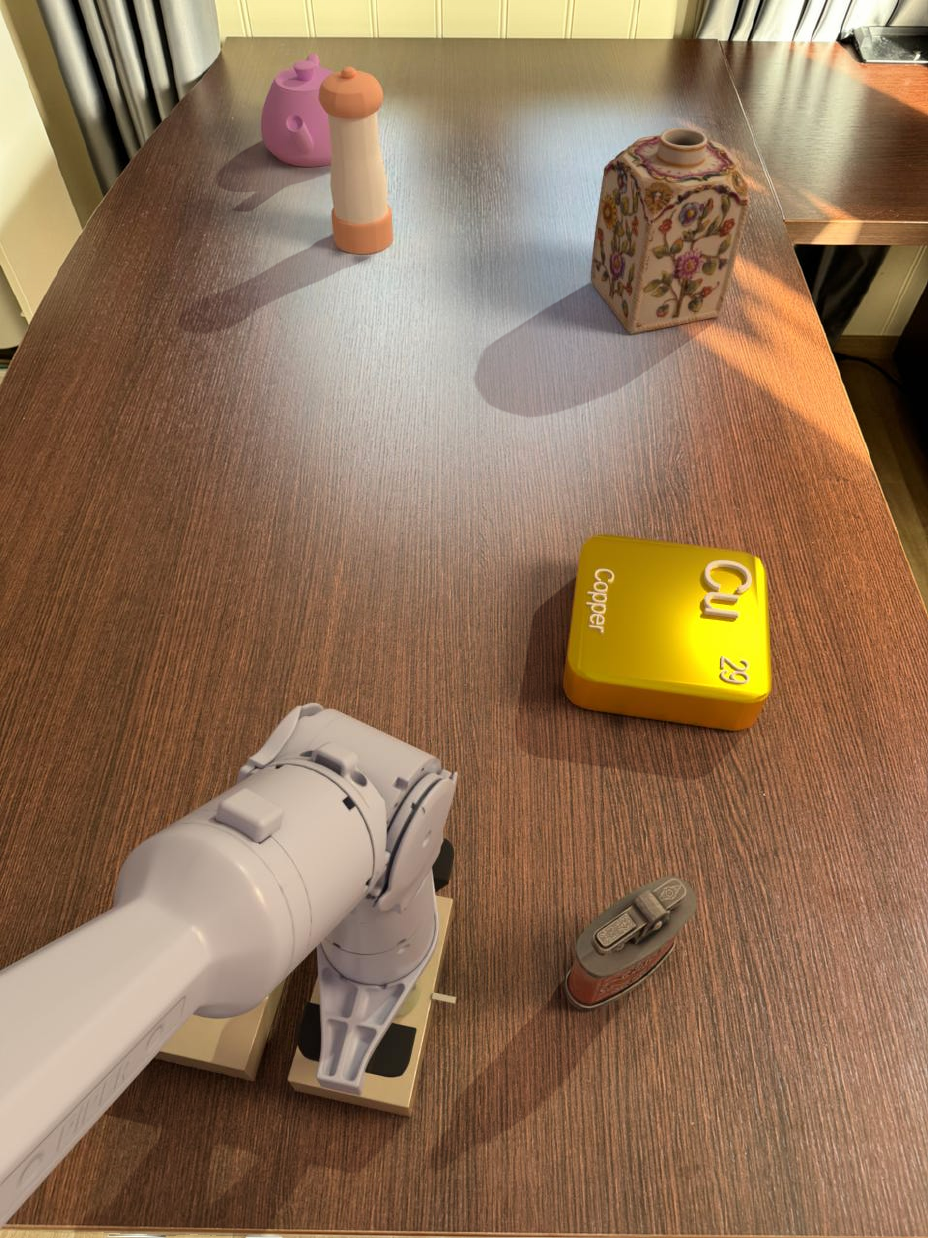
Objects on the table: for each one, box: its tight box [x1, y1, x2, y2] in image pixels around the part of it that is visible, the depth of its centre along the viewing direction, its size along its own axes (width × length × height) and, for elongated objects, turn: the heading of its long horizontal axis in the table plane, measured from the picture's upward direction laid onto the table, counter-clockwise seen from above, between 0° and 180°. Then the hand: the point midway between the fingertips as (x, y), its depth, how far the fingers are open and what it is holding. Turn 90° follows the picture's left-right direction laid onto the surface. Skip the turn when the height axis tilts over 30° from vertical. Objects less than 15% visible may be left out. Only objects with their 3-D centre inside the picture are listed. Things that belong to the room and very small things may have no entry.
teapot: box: [260, 53, 335, 168], centre depth 120 cm, size 14×20×11 cm
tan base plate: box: [153, 977, 287, 1082], centre depth 56 cm, size 12×8×3 cm
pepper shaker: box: [318, 66, 394, 255], centre depth 103 cm, size 7×7×19 cm
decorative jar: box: [589, 127, 751, 335], centre depth 95 cm, size 12×12×18 cm
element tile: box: [562, 533, 773, 732], centre depth 71 cm, size 15×15×5 cm
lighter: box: [563, 875, 698, 1013], centre depth 53 cm, size 8×3×10 cm, turn 123°
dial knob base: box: [287, 895, 457, 1118], centre depth 54 cm, size 12×8×3 cm
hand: (388, 980), depth 52 cm, fingers open, 7 cm apart
